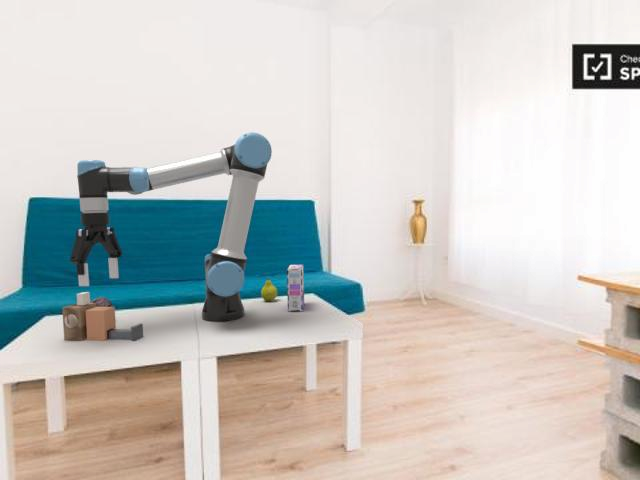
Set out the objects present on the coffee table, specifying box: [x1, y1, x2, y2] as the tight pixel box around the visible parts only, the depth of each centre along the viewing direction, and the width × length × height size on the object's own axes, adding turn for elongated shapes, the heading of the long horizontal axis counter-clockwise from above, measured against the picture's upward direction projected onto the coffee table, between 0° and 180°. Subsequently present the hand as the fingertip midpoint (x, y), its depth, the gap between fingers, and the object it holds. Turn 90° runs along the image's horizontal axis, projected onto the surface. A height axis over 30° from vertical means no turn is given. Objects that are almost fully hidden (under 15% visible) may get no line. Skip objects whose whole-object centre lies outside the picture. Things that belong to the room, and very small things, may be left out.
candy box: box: [286, 264, 305, 312], centre depth 162 cm, size 14×6×16 cm, turn 179°
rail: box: [107, 323, 144, 342], centre depth 127 cm, size 18×4×4 cm, turn 81°
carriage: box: [86, 306, 117, 341], centre depth 127 cm, size 6×5×9 cm
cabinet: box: [62, 302, 96, 342], centre depth 128 cm, size 6×8×10 cm
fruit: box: [260, 273, 278, 302], centre depth 176 cm, size 7×7×12 cm
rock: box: [90, 296, 114, 307], centre depth 144 cm, size 12×9×10 cm
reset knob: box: [76, 291, 91, 305], centre depth 128 cm, size 2×3×4 cm, turn 171°
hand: (100, 281), depth 127 cm, fingers open, 13 cm apart
